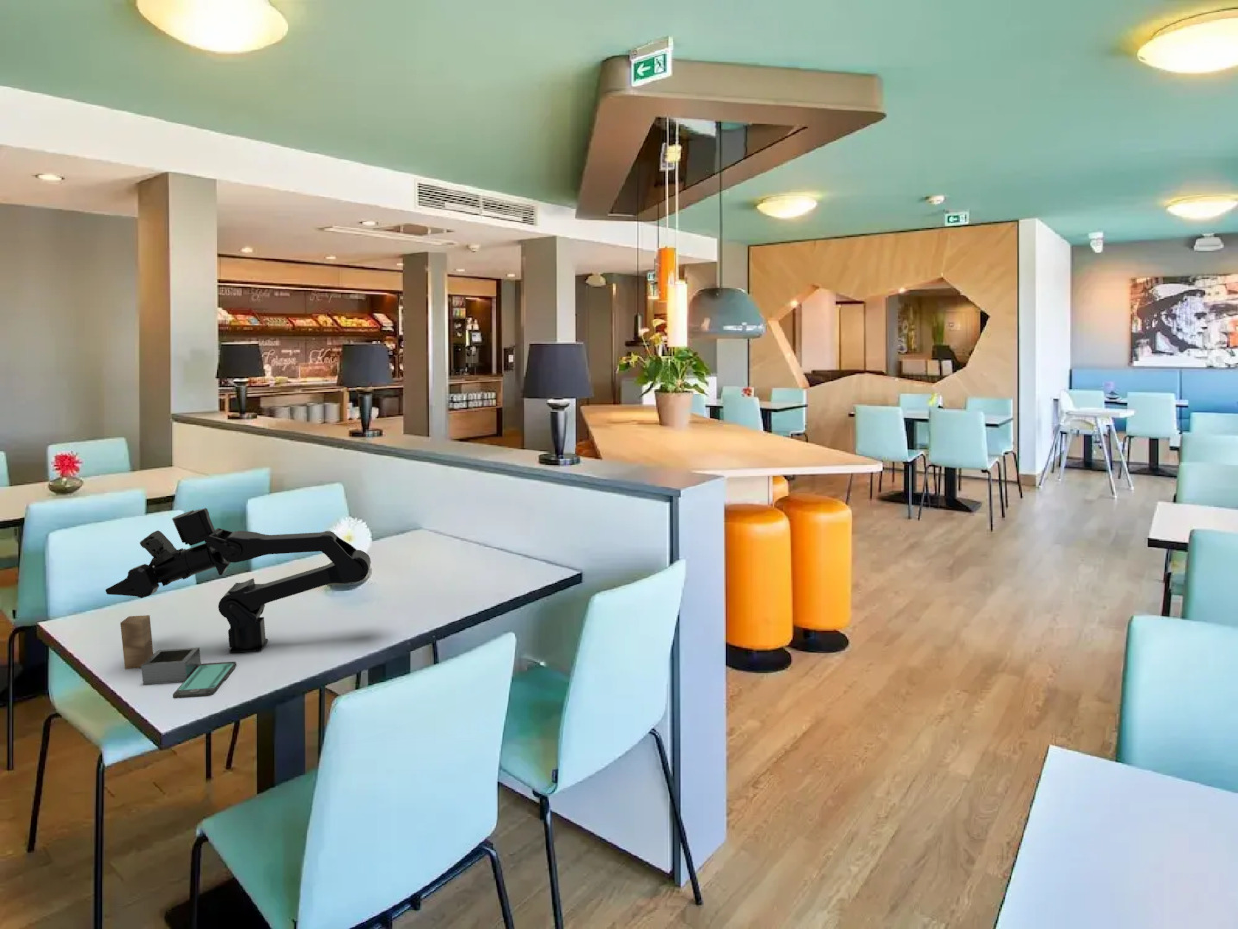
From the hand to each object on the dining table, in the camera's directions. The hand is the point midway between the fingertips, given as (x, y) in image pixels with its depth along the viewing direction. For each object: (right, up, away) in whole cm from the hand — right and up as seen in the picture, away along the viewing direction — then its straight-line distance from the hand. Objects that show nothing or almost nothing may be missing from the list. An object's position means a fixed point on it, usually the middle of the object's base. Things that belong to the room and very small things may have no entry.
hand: (115, 586), depth 164 cm
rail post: (+6, -16, -1) cm, 17 cm away
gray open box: (+16, -17, -7) cm, 24 cm away
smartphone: (+24, -18, -9) cm, 32 cm away
